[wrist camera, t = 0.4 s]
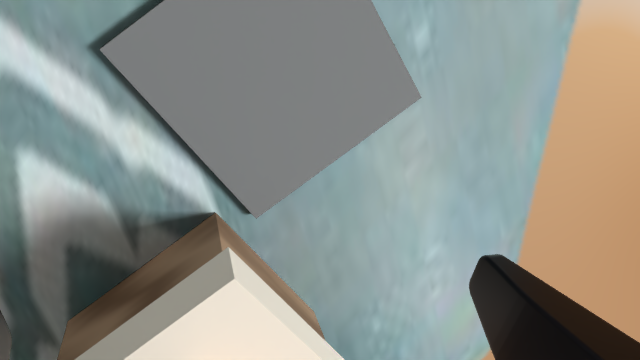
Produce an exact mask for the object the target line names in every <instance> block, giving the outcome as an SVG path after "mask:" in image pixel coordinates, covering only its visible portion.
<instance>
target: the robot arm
mask: <svg viewBox="0 0 640 360" xmlns="http://www.w3.org/2000/svg"><path fill="white" fill-rule="evenodd" d="M469 290H470V294H471V297H472V299H473V302H474V305H475V307H476V310H477V313H478V316H479V318H480V321H481V324H482V326H483V329H484V332H485V334H486V337H487V340H488V343H489V345H490V348H491V350H492V353H493V355H494V358H495V360H640V343H639V342H637V341H636V340H634V339H633V338H631V337H630V336H628V335H626V334H625V333H623V332H622V331H620V330H618V329H617V328H615V327H614V326H612V325H611V324H609V323H607V322H606V321H605V320H603V319H601V318H600V317H598V316H596V315H595V314H594V313H592V312H590V311H589V310H587V309H586V308H584V307H583V306H581V305H579V304H578V303H576V302H575V301H573V300H572V299H570V298H568V297H567V296H565V295H564V294H562V293H561V292H559V291H558V290H556V289H554V288H553V287H551V286H550V285H548V284H546V283H545V282H543V281H542V280H540V279H539V278H537V277H535V276H534V275H532V274H531V273H529V272H528V271H526V270H525V269H523V268H522V267H520V266H518V265H517V264H515V263H514V262H512V261H511V260H509V259H507V258H506V257H504V256H502V255H499V254H495V255H485V256H482V257H481V258H480V259H479V261H478V263H477V265H476V268H475V270H474V272H473V275H472V277H471V279H470V283H469ZM11 346H12V337H11V333H10V330H9V328H8V326H7V324H6V321H5V319H4V317H3V315H2V313H1V311H0V360H9V357H10V352H11Z"/></svg>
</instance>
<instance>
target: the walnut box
mask: <svg viewBox="0 0 640 360" xmlns="http://www.w3.org/2000/svg"><path fill="white" fill-rule="evenodd" d="M228 247H229V248H230V249H231V250H232V251H233V252H234V253H235V254H236V255H237V256H238V257H239V258H240V259H241V260H242V261H243V262H245V263H246V264H247V265H248V266H249V267H250V268H251V269H252V270H253V271H254V272H255V273H256V274H257V275H258V276H259V277H260V278H261V279H262V280H263V281H264V282H265V283H266V284H267V285H268V286H269V287H270V288H271V289H272V290H273V291H274V292H275V293H276V294H277V295H278V296H280V297H281V298H282V299H283V300H284V301H285V302H286V303H287V304H288V305H289V306H290V307H291V308H292V309H293V310H294V311H295V312H296V313H297V314H298V315H299V316H300V317H301V318H302V319H303V320H304V321H305V322H306V323H307V324H308V325H309V326H310V327H311V328H312V329H314V330H315V331H316V332H317V333H318V334H319V335H320V336H321V337H322V338H323V339H324V340H325V338H324V336H323V333H322V331H321V328H320V326H319V323H318V321H317V318H316V316H315V313H314V311H313V310H312V309H311V308H310V307H309V306H308V305H307V304H306V303H305V302H304V301H303V300H302V299H301V298H300V297H299V296H298V295H297V294H296V293H295V292H294V291H293V290H292V289H291V288H290V287H289V286H288V285H287V284H286V283H285V282H284V281H283V280H282V279H281V278H280V277H279V276H278V275H277V274H276V273H275V272H274V271H273V270H272V269H271V268H270V267H269V266H268V265H267V264H266V263H265V262H264V261H263V260H262V259H261V258H260V257H259V256H258V255H257V254H256V253H255V252H254V251H253V250H252V249H251V248H250V247H249V246H248V245H247V244H246V243H245V242H244V241H243V240H242V239H241V238H240V237H239V236H238V235H237V234H236V233H235V232H234V231H233V230H232V229H231V228H230V227H229V226H228V225H227V224H226V223H225V222H224V221H223V220H222V219H221V218H220V217H219V215H218V214H217V213H214V214H213V215H212V216H210V217H209V218H207V219H206V220H205V221H203V222H202V223H201V224H199V225H198V226H197V227H195V228H194V229H193V230H191V231H190V232H188V233H187V234H186V235H184V236H183V237H182V238H180V239H179V240H178V241H176V242H175V243H174V244H172V245H171V246H169V247H168V248H167V249H165V250H164V251H163V252H161V253H160V254H159V255H157V256H156V257H155V258H153V259H152V260H150V261H149V262H148V263H146V264H145V265H144V266H142V267H141V268H140V269H138V270H137V271H135V272H134V273H133V274H131V275H130V276H129V277H127V278H126V279H125V280H123V281H122V282H121V283H119V284H118V285H116V286H115V287H114V288H112V289H111V290H110V291H108V292H107V293H106V294H104V295H103V296H102V297H100V298H99V299H97V300H96V301H95V302H93V303H92V304H91V305H89V306H88V307H87V308H85V309H84V310H83V311H81V312H80V313H78V314H77V315H76V316H74V317H73V318H72V319H70V320H69V321H68V323H67V326H66V330H65V333H64V337H63V341H62V344H61V348H60V351H59V355H58V358H57V360H75V359H76V358H77V357H79V356H80V355H82V354H83V353H84V352H86V351H87V350H88V349H90V348H91V347H92V346H94V345H95V344H97V343H98V342H99V341H101V340H102V339H103V338H105V337H106V336H107V335H109V334H110V333H112V332H113V331H114V330H116V329H117V328H118V327H120V326H121V325H122V324H124V323H125V322H127V321H128V320H129V319H131V318H132V317H133V316H135V315H136V314H137V313H139V312H140V311H142V310H143V309H144V308H146V307H147V306H148V305H150V304H151V303H152V302H154V301H155V300H157V299H158V298H159V297H161V296H162V295H163V294H165V293H166V292H167V291H169V290H170V289H172V288H173V287H174V286H176V285H177V284H178V283H180V282H181V281H182V280H184V279H185V278H187V277H188V276H189V275H191V274H192V273H193V272H195V271H196V270H197V269H199V268H200V267H202V266H203V265H204V264H206V263H207V262H208V261H210V260H211V259H213V258H214V257H215V256H217V255H218V254H219V253H221V252H222V251H223V250H225V249H226V248H228Z"/></svg>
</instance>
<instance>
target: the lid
mask: <svg viewBox="0 0 640 360" xmlns="http://www.w3.org/2000/svg"><path fill="white" fill-rule="evenodd" d="M75 360H344V359H343V358H342V357H341V356H340V355H339V354H338V353H337V352H336V351H335V350H334V349H333V348H332V347H331V346H330V345H329V344H328V343H327V342H326V341H325V340H324V339H323V338H322V337H321V336H320V335H319V334H318V333H317V332H316V331H315V330H314V329H312V328H311V327H310V326H309V325H308V324H307V323H306V322H305V321H304V320H303V319H302V318H301V317H300V316H299V315H298V314H297V313H296V312H295V311H294V310H293V309H292V308H291V307H290V306H289V305H288V304H287V303H286V302H285V301H284V300H283V299H282V298H281V297H280V296H278V295H277V294H276V293H275V292H274V291H273V290H272V289H271V288H270V287H269V286H268V285H267V284H266V283H265V282H264V281H263V280H262V279H261V278H260V277H259V276H258V275H257V274H256V273H255V272H254V271H253V270H252V269H251V268H250V267H249V266H248V265H247V264H246V263H245V262H243V261H242V260H241V259H240V258H239V257H238V256H237V255H236V254H235V253H234V252H233V251H232V250H231V249H230V248H229V247H228V248H226V249H225V250H223V251H222V252H221V253H219V254H218V255H217V256H215V257H214V258H213V259H211V260H210V261H208V262H207V263H206V264H204V265H203V266H202V267H200V268H199V269H197V270H196V271H195V272H193V273H192V274H191V275H189V276H188V277H187V278H185V279H184V280H182V281H181V282H180V283H178V284H177V285H176V286H174V287H173V288H172V289H170V290H169V291H167V292H166V293H165V294H163V295H162V296H161V297H159V298H158V299H157V300H155V301H154V302H152V303H151V304H150V305H148V306H147V307H146V308H144V309H143V310H142V311H140V312H139V313H137V314H136V315H135V316H133V317H132V318H131V319H129V320H128V321H127V322H125V323H124V324H122V325H121V326H120V327H118V328H117V329H116V330H114V331H113V332H112V333H110V334H109V335H107V336H106V337H105V338H103V339H102V340H101V341H99V342H98V343H97V344H95V345H94V346H92V347H91V348H90V349H88V350H87V351H86V352H84V353H83V354H82V355H80V356H79V357H77V358H76V359H75Z"/></svg>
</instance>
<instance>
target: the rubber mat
mask: <svg viewBox="0 0 640 360" xmlns="http://www.w3.org/2000/svg"><path fill="white" fill-rule="evenodd" d="M100 51H101V52H102V53H103V54H104V55H105V56H106V57H107V58H108V59H109V61H110V62H111V63H112V64H113V65H114V66H115V67H116V68H117V69H118V70H119V71H120V72H121V73H122V75H123V76H124V77H125V78H126V79H127V80H128V81H129V82H130V83H131V84H132V85H133V86H134V87H135V89H136V90H137V91H138V92H139V93H140V94H141V95H142V96H143V97H144V98H145V99H146V100H147V101H148V103H149V104H150V105H151V106H152V107H153V108H154V109H155V110H156V111H157V112H158V113H159V114H160V116H161V117H162V118H163V119H164V120H165V121H166V122H167V123H168V124H169V125H170V126H171V127H172V128H173V130H174V131H175V132H176V133H177V134H178V135H179V136H180V137H181V138H182V139H183V140H184V141H185V142H186V144H187V145H188V146H189V147H190V148H191V149H192V150H193V151H194V152H195V153H196V154H197V155H198V156H199V158H200V159H201V160H202V161H203V162H204V163H205V164H206V165H207V166H208V167H209V168H210V169H211V170H212V172H213V173H214V174H215V175H216V176H217V177H218V178H219V179H220V180H221V181H222V182H223V183H224V184H225V186H226V187H227V188H228V189H229V190H230V191H231V192H232V193H233V194H234V195H235V196H236V197H237V198H238V200H239V201H240V202H241V203H242V204H243V205H244V206H245V207H246V208H247V209H248V210H249V211H250V213H251V214H252V215H253V216H254V217H255V218H258V217H259V216H260V215H262V214H263V213H265V212H266V211H267V210H269V209H270V208H271V207H273V206H274V205H275V204H277V203H278V202H280V201H281V200H282V199H284V198H285V197H286V196H288V195H289V194H290V193H292V192H293V191H295V190H296V189H297V188H299V187H300V186H301V185H303V184H304V183H305V182H307V181H308V180H310V179H311V178H312V177H314V176H315V175H316V174H318V173H319V172H320V171H322V170H323V169H325V168H326V167H327V166H329V165H330V164H331V163H333V162H334V161H335V160H337V159H338V158H340V157H341V156H342V155H344V154H345V153H346V152H348V151H349V150H350V149H352V148H353V147H355V146H356V145H357V144H359V143H360V142H361V141H363V140H364V139H365V138H367V137H368V136H370V135H371V134H372V133H374V132H375V131H376V130H378V129H379V128H380V127H382V126H383V125H385V124H386V123H387V122H389V121H390V120H391V119H393V118H394V117H395V116H397V115H398V114H400V113H401V112H402V111H404V110H405V109H406V108H408V107H409V106H410V105H412V104H413V103H415V102H416V101H417V100H419V99H420V98H421V96H420V94H419V92H418V90H417V88H416V86H415V84H414V82H413V80H412V78H411V76H410V74H409V72H408V71H407V69H406V67H405V65H404V63H403V61H402V59H401V57H400V55H399V53H398V51H397V49H396V47H395V46H394V44H393V42H392V40H391V38H390V36H389V34H388V32H387V30H386V28H385V26H384V24H383V22H382V20H381V19H380V17H379V15H378V13H377V11H376V9H375V7H374V5H373V3H372V1H371V0H163V1H162V2H160V3H159V4H158V5H157V6H155V7H154V8H153V9H151V10H150V11H149V12H147V13H146V14H145V15H143V16H142V17H141V18H139V19H138V20H137V21H135V22H134V23H133V24H131V25H130V26H129V27H127V28H126V29H125V30H124V31H122V32H121V33H120V34H118V35H117V36H116V37H114V38H113V39H112V40H110V41H109V42H108V43H106V44H105V45H104V46H102V47H101V48H100Z"/></svg>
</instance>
